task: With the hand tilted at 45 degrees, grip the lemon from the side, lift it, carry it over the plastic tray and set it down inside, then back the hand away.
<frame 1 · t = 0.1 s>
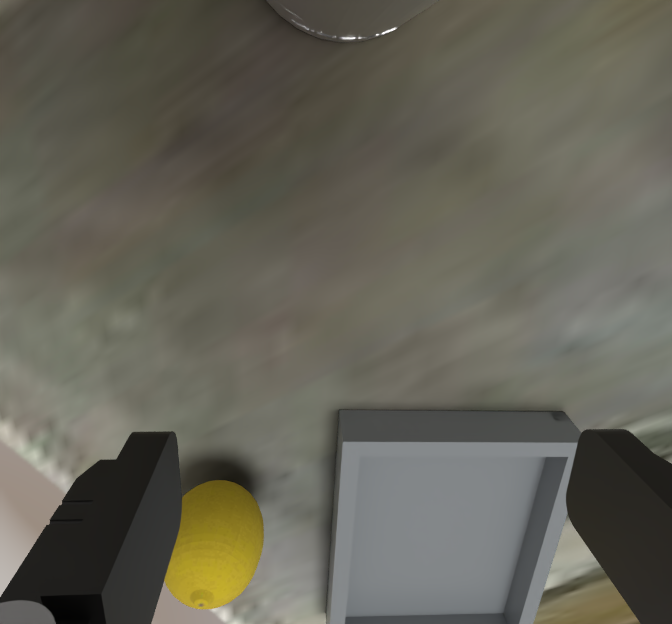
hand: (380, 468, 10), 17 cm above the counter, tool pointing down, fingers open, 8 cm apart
lemon: (224, 485, 32), on the counter
tray: (434, 521, 34), on the counter
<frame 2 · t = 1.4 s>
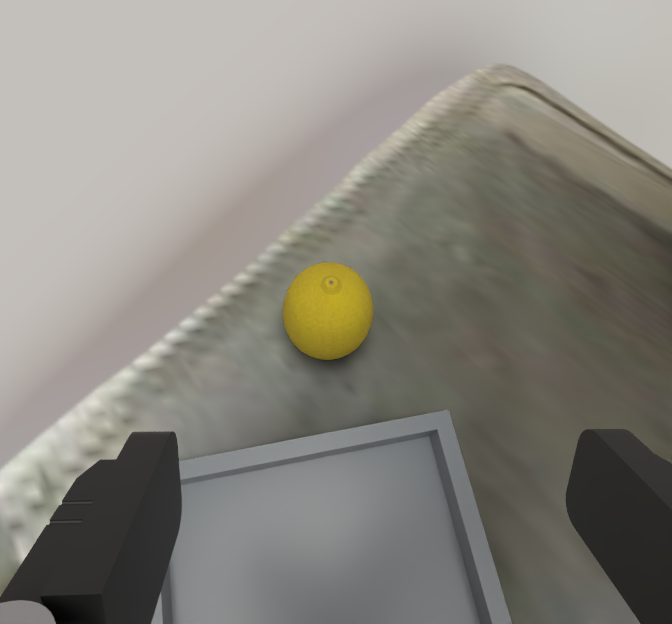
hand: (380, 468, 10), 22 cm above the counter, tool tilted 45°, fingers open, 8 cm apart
lemon: (324, 338, 35), on the counter
tray: (319, 571, 28), on the counter
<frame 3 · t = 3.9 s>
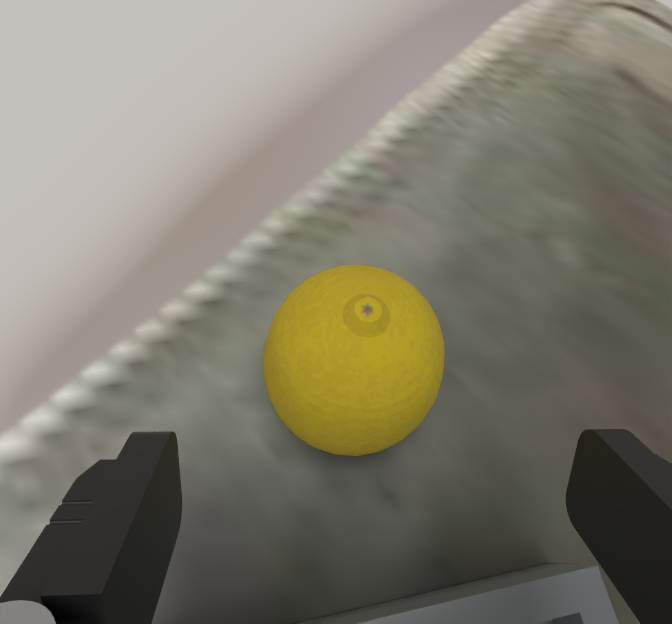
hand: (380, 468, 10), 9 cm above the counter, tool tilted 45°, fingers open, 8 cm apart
lemon: (341, 399, 20), on the counter
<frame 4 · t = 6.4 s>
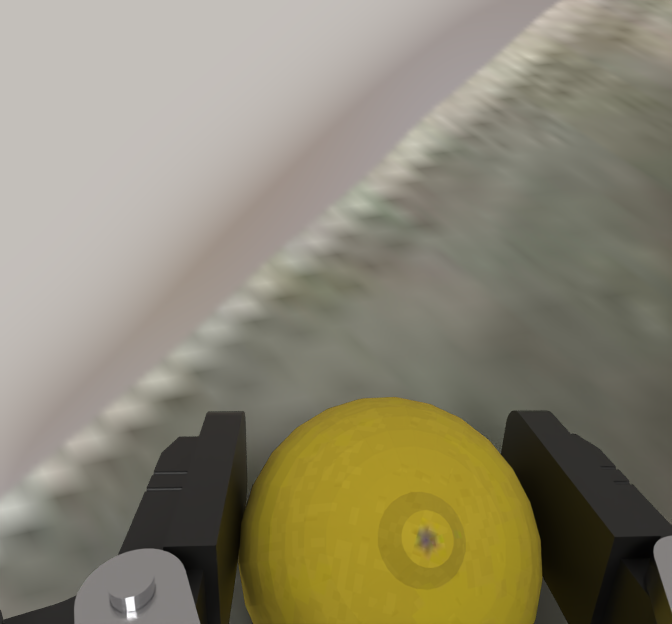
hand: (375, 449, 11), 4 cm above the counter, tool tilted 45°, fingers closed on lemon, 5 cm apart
lemon: (356, 544, 14), on the counter, touching gripper
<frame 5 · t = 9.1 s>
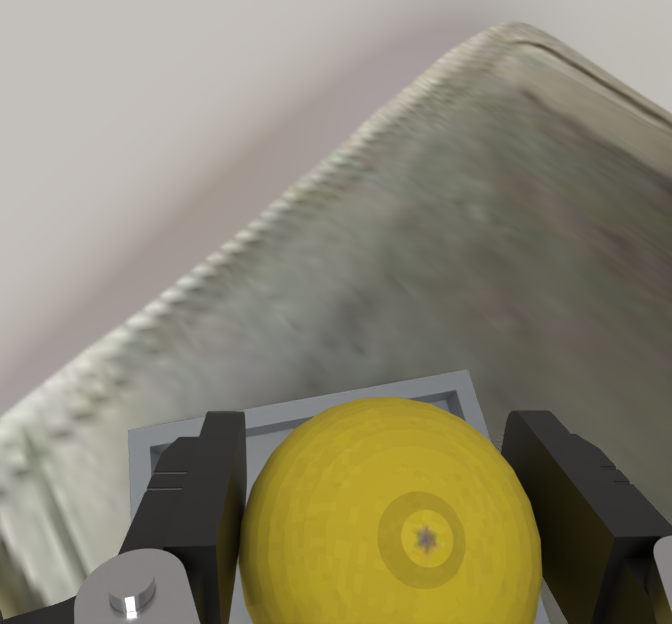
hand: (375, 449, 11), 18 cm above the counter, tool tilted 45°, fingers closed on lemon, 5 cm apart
lemon: (356, 544, 14), point 14 cm above the counter, touching gripper
tray: (328, 542, 26), on the counter
when the fingers open (7 cm above the counter, at t = 12.1 s): lemon drops 1 cm, resting on tray.
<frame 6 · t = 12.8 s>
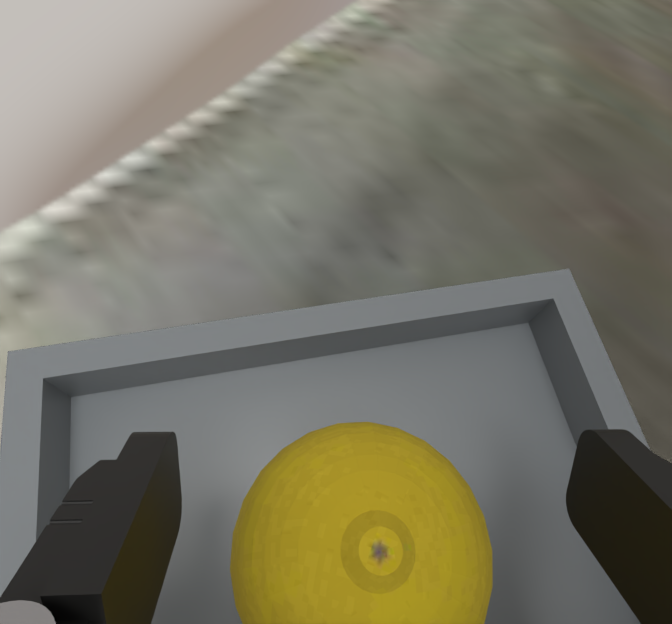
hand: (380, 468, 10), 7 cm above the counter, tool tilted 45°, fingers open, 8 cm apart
lemon: (344, 551, 15), point 1 cm above the counter, touching tray
tray: (348, 545, 16), on the counter
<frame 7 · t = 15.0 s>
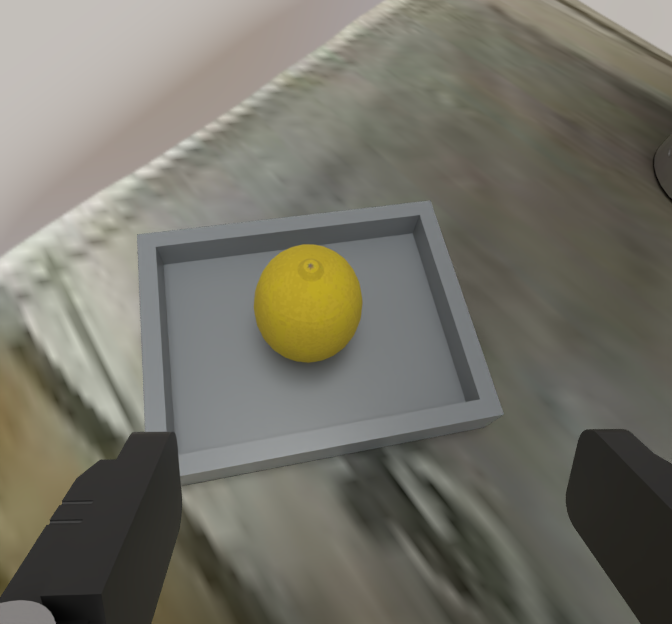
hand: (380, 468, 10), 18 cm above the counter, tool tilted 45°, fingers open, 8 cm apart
lemon: (306, 337, 30), point 1 cm above the counter, touching tray
tray: (309, 340, 30), on the counter
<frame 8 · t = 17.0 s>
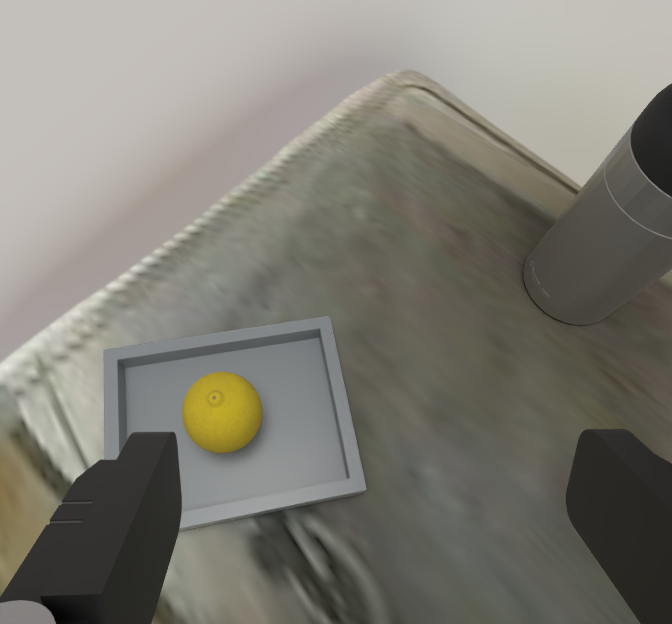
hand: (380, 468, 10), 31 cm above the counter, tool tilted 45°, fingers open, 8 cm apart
lemon: (230, 425, 40), point 1 cm above the counter, touching tray
tray: (234, 425, 40), on the counter
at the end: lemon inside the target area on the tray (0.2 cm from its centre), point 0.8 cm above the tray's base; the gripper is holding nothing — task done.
